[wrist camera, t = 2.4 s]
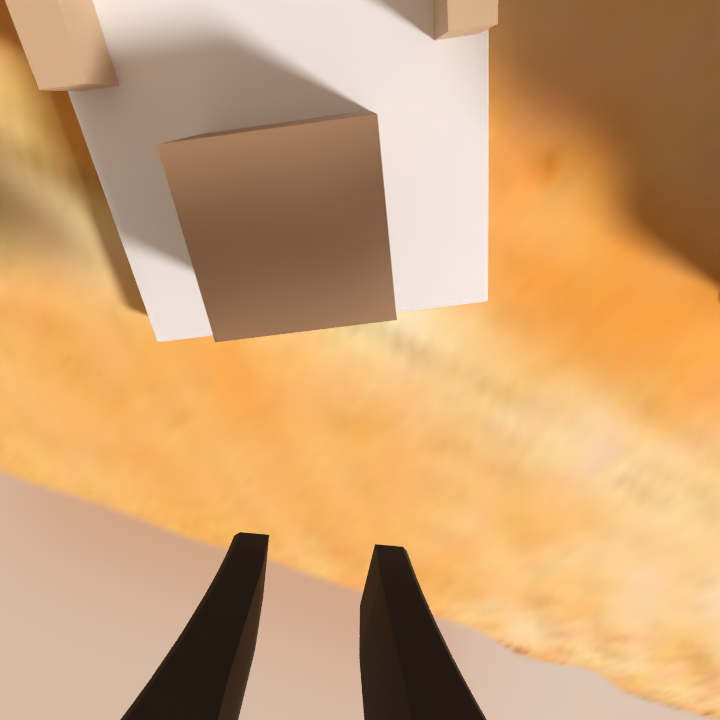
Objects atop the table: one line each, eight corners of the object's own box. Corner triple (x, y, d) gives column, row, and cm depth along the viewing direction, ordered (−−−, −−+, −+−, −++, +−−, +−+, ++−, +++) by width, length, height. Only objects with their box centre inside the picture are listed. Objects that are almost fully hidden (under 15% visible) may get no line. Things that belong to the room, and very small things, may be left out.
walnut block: (385, 273, 17) (396, 320, 13) (242, 291, 17) (215, 342, 13) (369, 110, 14) (377, 114, 11) (202, 133, 14) (156, 144, 11)
